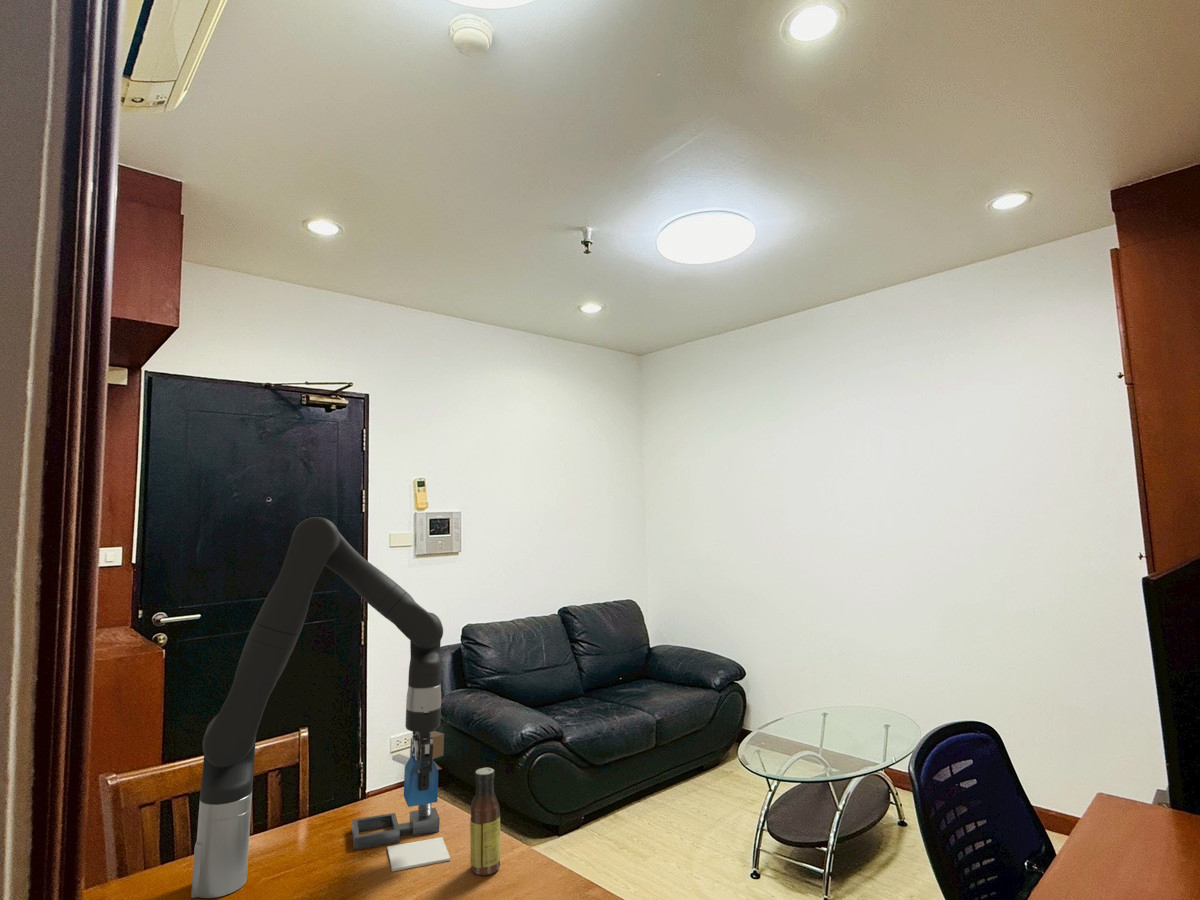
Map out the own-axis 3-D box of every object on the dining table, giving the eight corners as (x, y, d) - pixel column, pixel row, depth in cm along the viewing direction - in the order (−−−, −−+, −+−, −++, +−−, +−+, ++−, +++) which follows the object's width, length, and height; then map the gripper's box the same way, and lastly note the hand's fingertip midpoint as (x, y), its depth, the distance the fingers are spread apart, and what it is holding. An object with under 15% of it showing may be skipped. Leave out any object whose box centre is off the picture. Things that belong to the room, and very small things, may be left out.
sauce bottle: (503, 862, 142) (506, 765, 144) (495, 878, 135) (498, 777, 137) (473, 860, 142) (476, 764, 144) (464, 876, 136) (468, 775, 138)
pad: (392, 871, 137) (392, 869, 137) (387, 849, 146) (387, 846, 147) (450, 860, 142) (450, 858, 142) (442, 839, 151) (442, 837, 151)
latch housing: (354, 850, 146) (354, 835, 146) (351, 830, 155) (352, 817, 155) (440, 835, 153) (440, 821, 153) (433, 817, 162) (434, 804, 162)
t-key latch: (381, 804, 161) (385, 729, 163) (405, 795, 167) (408, 722, 168) (417, 821, 153) (420, 741, 155) (441, 810, 158) (444, 733, 160)
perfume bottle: (403, 795, 147) (405, 739, 148) (431, 791, 150) (433, 736, 151) (408, 807, 141) (410, 748, 142) (437, 802, 144) (439, 744, 145)
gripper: (402, 698, 152) (399, 774, 151) (410, 716, 139) (407, 799, 138) (435, 695, 155) (432, 769, 154) (446, 712, 142) (443, 794, 141)
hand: (420, 783), depth 146 cm, fingers closed on perfume bottle, 6 cm apart
